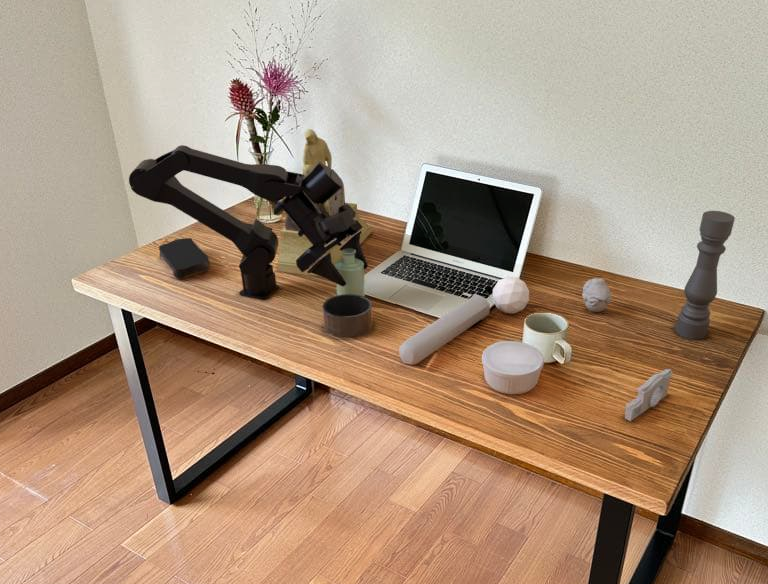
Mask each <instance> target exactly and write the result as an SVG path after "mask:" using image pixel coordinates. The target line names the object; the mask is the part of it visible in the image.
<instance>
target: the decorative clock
mask: <svg viewBox="0 0 768 584" xmlns="http://www.w3.org/2000/svg"><path fill="white" fill-rule="evenodd" d="M304 137H305V140H306V141H305V144H304V148H303V154H302V163H303V166H302V171H301V172H302V174H304V175H306V174H308V173H309V172H310V171H311V170H312V169H313V168H314V166H315V165H316V164H317V163H318V162H319V161H320V162H322V163H323V164H324V165H326V166H328V167H329V168H330V169H332V162H333V159H332V153H331V151H330V148H329V145H328V143H327V142H326V141H325V139H323V138H321V137H319V136H318V135H317V132H316V131H315V130H313V129H311V128H309V129H307V130H305V131H304ZM326 163H327V164H326ZM341 180H342V182H343V183H344V181H343V179H342V178H341ZM345 192H346V191H345V185H344V186H343V187H342V188H341V189H340V190H339V191H338V192H336V193H335V194H334V195H333V196H332V197H331V198H330V199H329V200H328V201H326V202H325V203H324V204H321V203H320V204H317V203H314V202H313V201H312V202H313V203H314V205H315V206H316V207H317V208H318V210H319V211H320V212H321V213H322V212H324V211H326V212H328V213H329V215H330V216H331V215H334V214H336V213H338V208H339V207H341V206H342V205H345V204H348V205H349V206H350V207H351V208H352V209H353V210H354V211H355V212H356V215H355V217H354V220H357V221H358V222H359V223H360V224H361V225H362V227H363V228H361V229H360V230H359V231H358V232H360V231H361V232H362V233H361V234H360V245H361V244H363V242H364V241H365V240H366V239H367V238H368V237H369V236H370V234H371V232H372V230H371V229H372V228H371V227H372V226H371V225H369V224H368V223H367V222H366V221H364V220H363V219H362V218H361V216H360V215H359V211H358V203H353V202H346V195H345ZM304 193H305V192H304ZM305 194H306V193H305ZM299 231H300V229H299V228H298V227H297V226H296V225H295V223H294V222H293V221H292V220H291V218H290V217H289V216H288V215H287V214H286V218H285V224H284V227H283V228H282V229H281V230H280V231H279V232H280V233H279V234H280V235H279V236H280V246H279V247H280V248H279V253H278V257H277V262H276V267H277V268H276V269H277V272H279V273H280V272H281V273H287V274H293V275H310V276H315V277H319V276H318V275H316V274H313V273H307V271H308V270H310V269H311V268H309V269H307V270H306V271H304V272H303V273H302V272H301V271H300V269H299V268H298V267H297V265H296V260H297V259H298V258H299V257H300V256H301V255H302V254H303V253H304V252H305V251H306V250H307V249H308V248H310V247H311V246H313V245H312V244H311V243H310V241H309V240H308V239H307V238H306V237H305V235H303V236H301V237H300V236H299V235H298V234H297V233H298V232H299ZM358 232H357V233H358ZM325 245H326V244H325ZM341 247H342V245H341V246H339V245H336V246H334V247H333V248H331V249H330V250H328V251H327V252H326V253H325V255H327V254H328V253H330V254H331V262H332V263H333V265H334V266H335V264H336V262H337V261H339V260H341V259H343V254H342V251H341V250H340V248H341Z"/></svg>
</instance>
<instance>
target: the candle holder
mask: <svg viewBox="0 0 768 584" xmlns="http://www.w3.org/2000/svg"><path fill="white" fill-rule="evenodd" d="M735 220H736V219H735V216H734V215H732V214H731V213H729V212H725V211H720V210H706V211H704V212H703V213H702V215H701V221H700V225H699V228H698V230H699V235H700V239H701V240H700V241H699V242H698V243H697V244H696V248H697V250H698V256H697V260H696V263H695V267H694V268H693V270H692V272H691V274H690V276H689V278H688V280H687V282H686V283H685V286H684V291H683V293H684V295H685V299H686V303H685V304H684V305H682V306H681V308H680V312H679V313H678V315H677V319H676V323H675V327H674V330H675V333H676V334H677V335H678V336H680V337H682V338H685V339H689V340H702V339H705V338H706V336H707V335H708V330H709V327H710V323H711V319H710V316H711V310H710V309H709V306H710V304H711V303H712V302H713V301H714V300H715V298H716V297H717V295H718V266H719V261H720V259H721V258H720V257H721V256H722V255H723V254H725V251H726V250H727V249H726V246H725V245H724V244H725V243H726V242H727V241H728V239H729V237H730V236H731V235H732V231H733V229H734V228H733V227H734V223H735Z"/></svg>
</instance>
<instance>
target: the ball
mask: <svg viewBox="0 0 768 584" xmlns="http://www.w3.org/2000/svg"><path fill="white" fill-rule="evenodd" d="M492 300H493V303H494V305H495V307H496V309H498V310H500V311H502V312H503V313H505V314H517V313H518V312H521V311H523V310H524V309H525V308H526V307H527V304H529V302H530V290H529V288H528V286H527V283H526V282H525V281H523V280H522V279H520V278H519V277H517V276H506V277H504V278H502V279H499V280H498V281H497V282H496V284H495V286H494V287H493V288H492Z"/></svg>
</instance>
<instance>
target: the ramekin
mask: <svg viewBox="0 0 768 584" xmlns="http://www.w3.org/2000/svg"><path fill="white" fill-rule="evenodd" d="M481 363H482V366H483V375H484V379H485V382H486V383H487V384H488V386H489V387H491V388H492V389H493V390H494V391H496V392H499V393H502V394H506V395H521V394H522V395H523V394H526V393H527V392H529V391H531V390H532V389H534V388H535V387H536V385H537V383H538V381H539V378H540V376H541V372H542V370H543V368H544V365H545V357H544V355H543V353H542V352H541V350H539V349H538V348H537V347H535V346H533V345H531V344H529V343H526V342H522V341H517V340H502V341H498V342H497V341H496V342H495V343H492V344H490V345H488V346H487V347H485V348H484V350H483V352H482V353H481Z"/></svg>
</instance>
